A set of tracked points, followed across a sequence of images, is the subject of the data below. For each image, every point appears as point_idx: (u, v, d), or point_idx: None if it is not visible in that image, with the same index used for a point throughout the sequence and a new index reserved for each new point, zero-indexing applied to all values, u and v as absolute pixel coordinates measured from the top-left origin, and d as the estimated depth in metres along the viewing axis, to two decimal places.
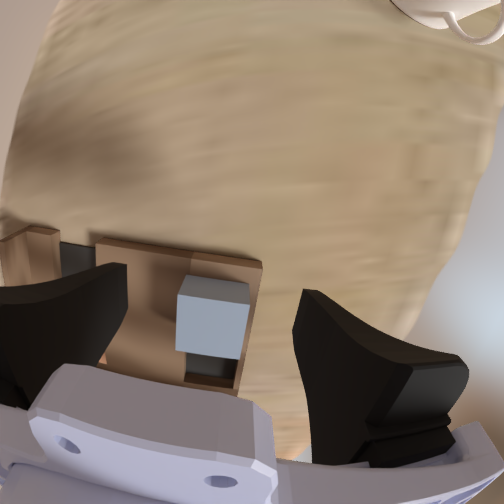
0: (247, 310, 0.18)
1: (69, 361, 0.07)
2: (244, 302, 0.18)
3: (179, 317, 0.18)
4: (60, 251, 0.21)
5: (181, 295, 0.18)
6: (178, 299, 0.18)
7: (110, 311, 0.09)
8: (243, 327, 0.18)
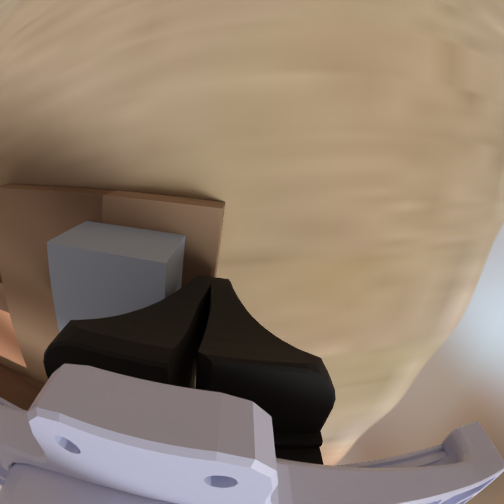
0: (162, 275, 0.08)
1: None
2: (157, 257, 0.09)
3: (54, 286, 0.09)
4: None
5: (53, 244, 0.08)
6: (48, 252, 0.08)
7: (204, 328, 0.10)
8: None
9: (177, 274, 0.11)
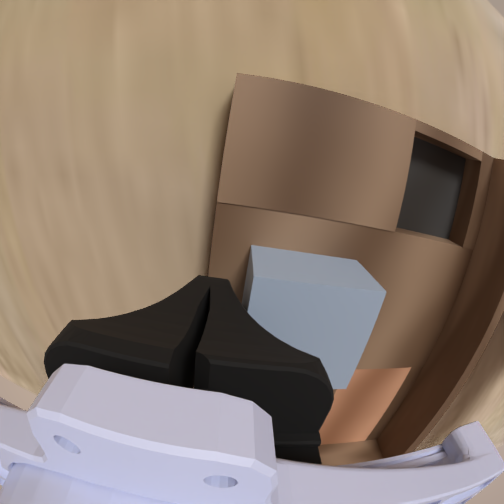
0: (267, 281, 0.09)
1: None
2: (251, 283, 0.09)
3: None
4: None
5: None
6: None
7: (204, 328, 0.10)
8: (308, 287, 0.09)
9: (285, 258, 0.11)
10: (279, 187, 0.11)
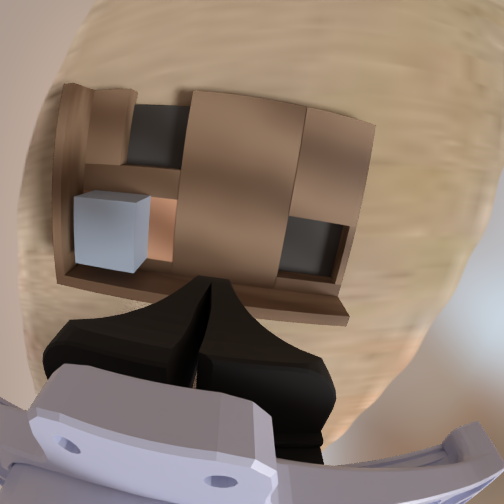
0: (133, 209, 0.16)
1: None
2: (132, 201, 0.16)
3: (76, 222, 0.16)
4: (134, 114, 0.18)
5: (77, 198, 0.16)
6: (74, 202, 0.16)
7: (203, 328, 0.10)
8: (132, 230, 0.16)
9: (144, 216, 0.18)
10: (315, 141, 0.18)
